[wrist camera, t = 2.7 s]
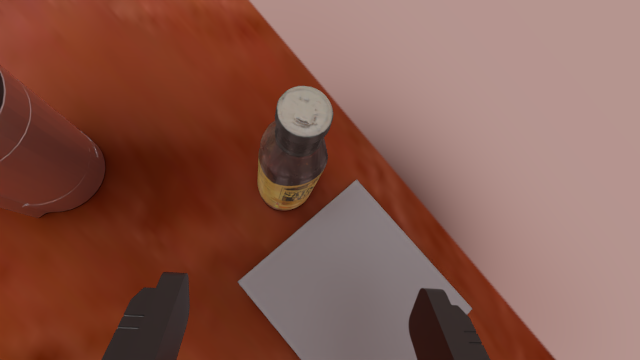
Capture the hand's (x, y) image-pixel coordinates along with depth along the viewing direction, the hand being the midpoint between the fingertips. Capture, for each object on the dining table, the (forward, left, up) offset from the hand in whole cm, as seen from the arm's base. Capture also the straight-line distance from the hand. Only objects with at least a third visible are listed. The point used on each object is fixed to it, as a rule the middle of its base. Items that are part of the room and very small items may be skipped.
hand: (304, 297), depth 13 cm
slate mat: (+6, -7, -30) cm, 31 cm away
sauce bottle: (+8, +8, -30) cm, 32 cm away
